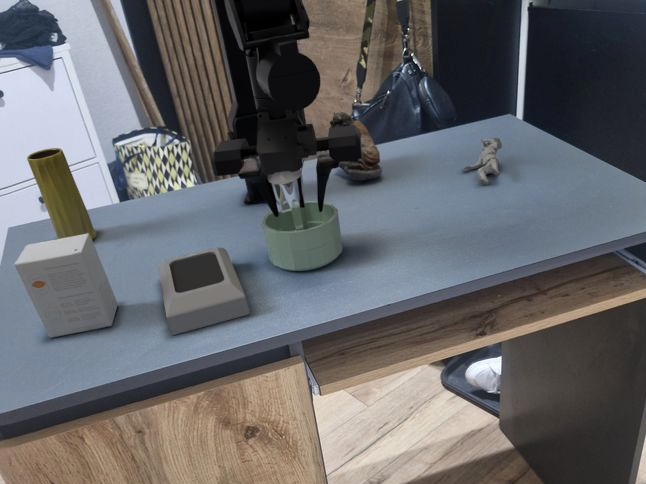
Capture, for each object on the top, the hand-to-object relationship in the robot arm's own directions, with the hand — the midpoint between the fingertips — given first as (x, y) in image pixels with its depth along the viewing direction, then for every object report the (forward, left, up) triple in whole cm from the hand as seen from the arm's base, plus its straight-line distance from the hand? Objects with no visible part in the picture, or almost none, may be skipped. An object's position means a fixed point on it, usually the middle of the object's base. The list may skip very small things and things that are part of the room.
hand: (298, 213), depth 86 cm
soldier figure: (-24, +29, -7) cm, 38 cm away
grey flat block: (+9, -13, -7) cm, 17 cm away
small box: (+12, -28, -7) cm, 31 cm away
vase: (-15, -39, -7) cm, 42 cm away
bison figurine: (-30, +7, -7) cm, 31 cm away
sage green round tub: (0, 0, -6) cm, 6 cm away
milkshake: (0, 0, -3) cm, 3 cm away
